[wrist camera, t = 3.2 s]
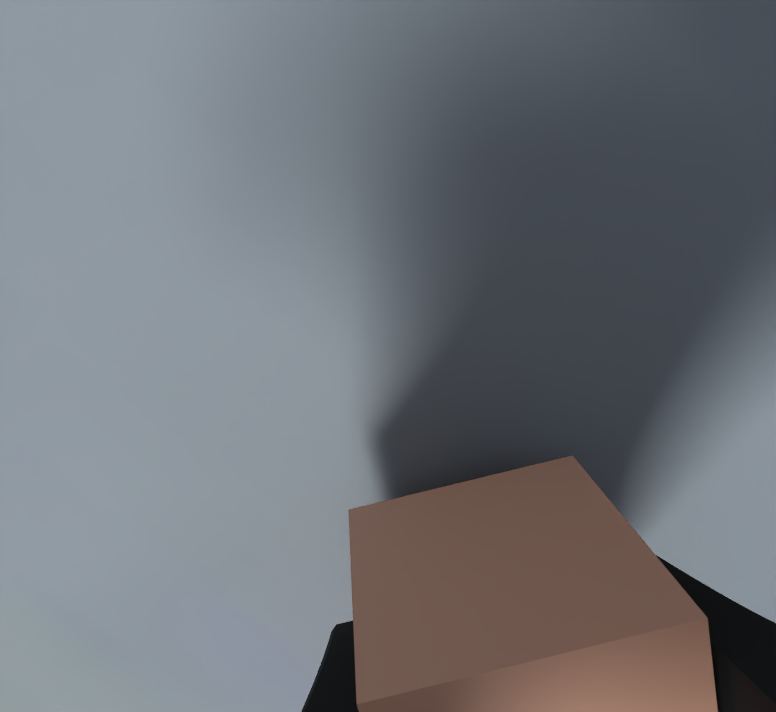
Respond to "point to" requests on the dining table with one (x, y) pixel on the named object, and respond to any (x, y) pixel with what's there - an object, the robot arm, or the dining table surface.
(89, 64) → the dining table surface
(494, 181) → the dining table surface
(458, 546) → the terracotta block
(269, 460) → the dining table surface
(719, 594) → the robot arm
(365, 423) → the dining table surface
